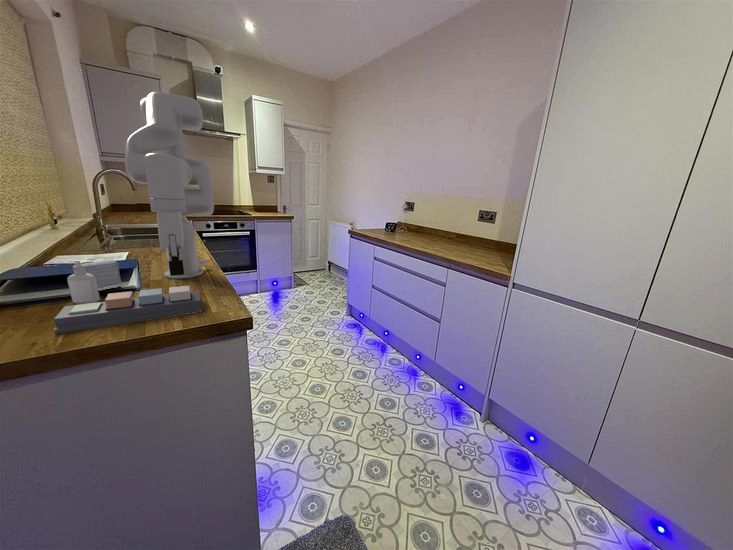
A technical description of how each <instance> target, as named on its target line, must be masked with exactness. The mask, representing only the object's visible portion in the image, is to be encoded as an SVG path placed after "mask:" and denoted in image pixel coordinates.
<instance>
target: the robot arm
mask: <svg viewBox="0 0 733 550" xmlns="http://www.w3.org/2000/svg"><path fill="white" fill-rule="evenodd" d="M139 104H140V105H139V107H140V112H141V115H142V118H143V121H144V123H145V125H144V126H143V127H141V128H139V129H138V130H136V131H135V132H133V133H132V134H131V135H130V136H129V137H128V138H127V140H126V143H125V147H124V148H125V153H124V154H125V155H124V166H125V172H126V174H127V175H128V177H129V179H130V180H131V181H133V182H135V183H137V184H143V185H146V184H147V191H148V196H149V206H150V210H151V212H153V213H156V223H157V231H158V238H159V239H158V240H159V246H160V247H159V248H160V251H161V252H162V253H163V252H166V256H167V258H166V259H167V265H168V266H167V267H168V269H167V270H165V271H164V277H165V278H168V279H175V280H176V279H190V278H195V277H199V276H201V275H203V274H204V269H203V268H201V267H202V266H203V265H206V264H207V263H208V261H207V260H206V259H201V260H199V259H198V251H197V241H196V234H195V232H196V231H195V227H194V225H193V224H192V223H191V222H190V221H189V220H188V219H187V218H186V217H189V216H190V217H202V216H203V217H208V216H211V215H213V213H214V211H215V204H214V202H215V201H214V194H213V193H214V192H213V186H212V173H211V171H210V167H209V165H208V163H206V162H205V161H203V160H201V159H197V158H187V156H186V153H185V152H186V149H185V145H184V143H183V142H182V141H183V133H182V132H183V131H182V130H184V131H191V132H199V131H201V130H202V127H203V124H204V115H203V109H202V107H201V104H200V103H199V102H198V101H197V100H196V99H194V98H193V97H189V96H186V95H185V96H184V95H179V94H174V93H169V92H165V91H164V92H163V91H152V92H150V93H149V94H148V95H147V96H146V97H144V98H142V99H141V100H140V103H139ZM155 152H156V153H155ZM184 186H185V187H196V188H197V189H196V188H185V187H184Z"/></svg>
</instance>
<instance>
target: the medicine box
mask: <svg viewBox="0 0 733 550" xmlns="http://www.w3.org/2000/svg"><path fill="white" fill-rule="evenodd" d="M81 264H82V265H85V268H86V273H89V274H92V275H94V276H95V279H96V283H97V287H98V288H103V287H106V286H111V285H118V284H121V285H122V281H121V275H120V269H119V263H118V262H117V261H115V260H113V259H105V260H99V261H92V262H91V261H90V262H85V263H81Z"/></svg>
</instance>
